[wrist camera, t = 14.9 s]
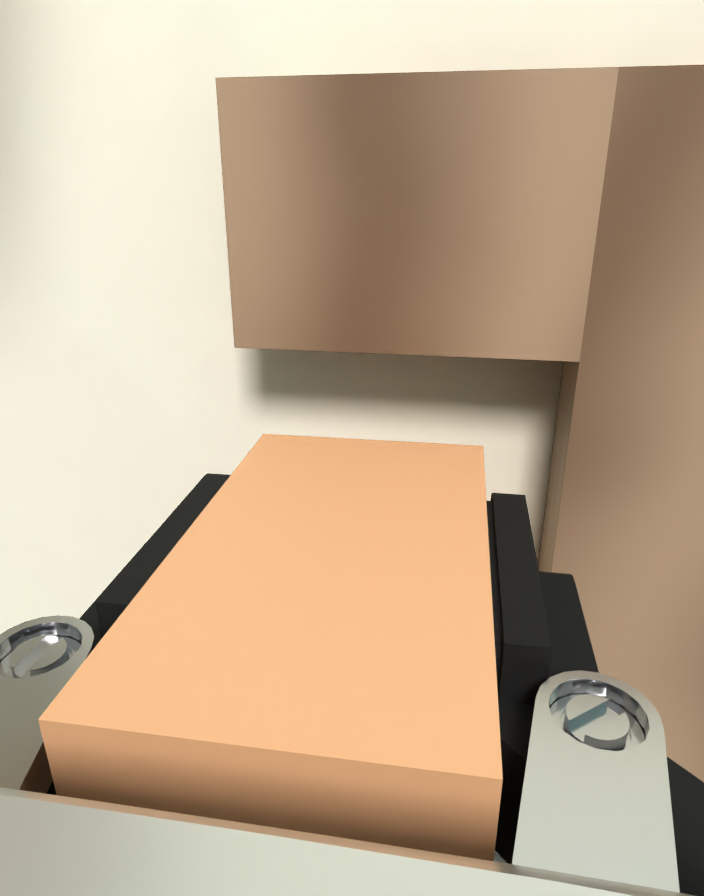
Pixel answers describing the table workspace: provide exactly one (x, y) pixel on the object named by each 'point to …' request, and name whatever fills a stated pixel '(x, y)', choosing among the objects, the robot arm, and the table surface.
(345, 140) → the notched board
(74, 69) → the table surface
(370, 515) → the light orange block
